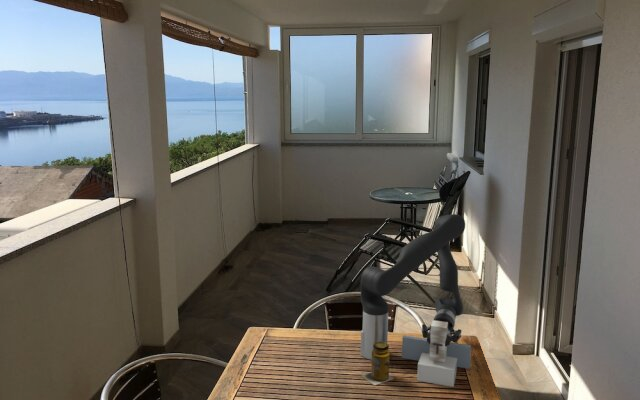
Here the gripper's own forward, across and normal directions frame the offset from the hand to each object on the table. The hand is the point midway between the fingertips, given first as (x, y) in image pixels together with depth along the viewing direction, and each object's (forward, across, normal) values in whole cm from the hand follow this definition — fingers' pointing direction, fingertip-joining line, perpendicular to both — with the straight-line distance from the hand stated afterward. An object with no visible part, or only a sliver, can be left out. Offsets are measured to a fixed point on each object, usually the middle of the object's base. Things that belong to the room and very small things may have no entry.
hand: (437, 342), depth 180 cm
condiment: (+4, -19, +14) cm, 24 cm away
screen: (-14, -2, +14) cm, 20 cm away
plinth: (-3, 0, +14) cm, 14 cm away
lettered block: (-3, 0, +7) cm, 7 cm away
